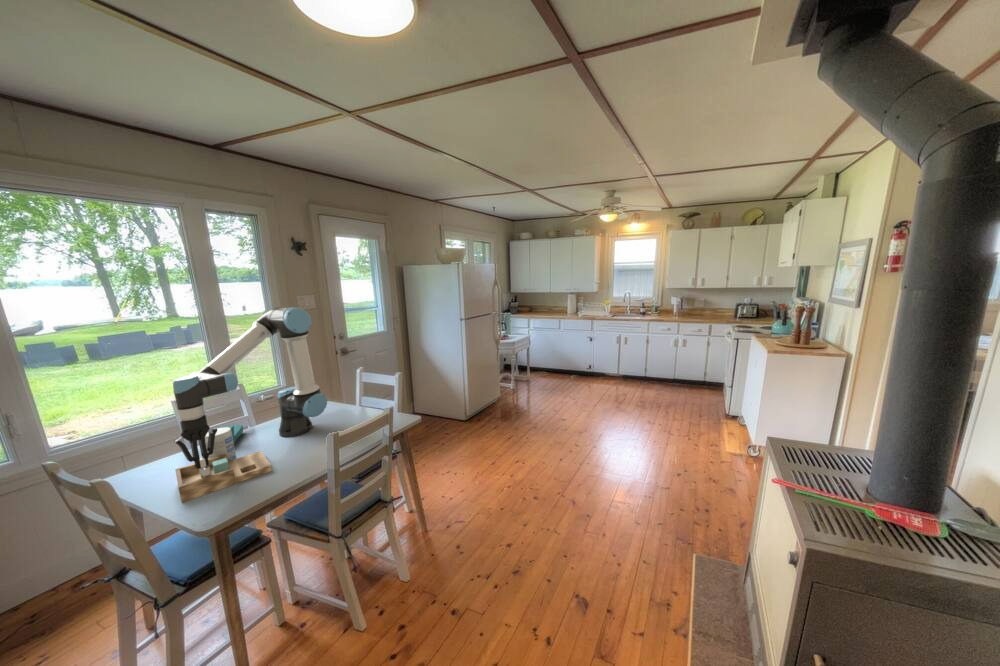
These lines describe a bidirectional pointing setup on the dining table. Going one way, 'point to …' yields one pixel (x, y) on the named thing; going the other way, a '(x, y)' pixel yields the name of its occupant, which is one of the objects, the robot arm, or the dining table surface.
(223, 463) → the cube
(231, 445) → the supplement tub
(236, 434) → the teal l-shaped bracket
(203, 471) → the silver metal knob
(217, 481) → the wooden tray
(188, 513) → the dining table surface
